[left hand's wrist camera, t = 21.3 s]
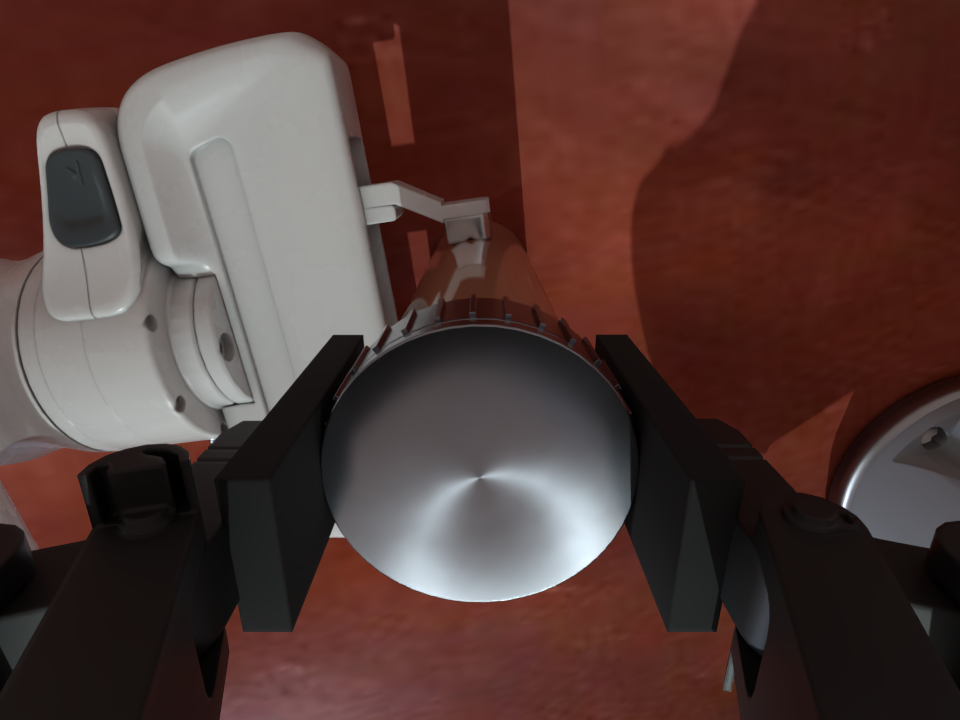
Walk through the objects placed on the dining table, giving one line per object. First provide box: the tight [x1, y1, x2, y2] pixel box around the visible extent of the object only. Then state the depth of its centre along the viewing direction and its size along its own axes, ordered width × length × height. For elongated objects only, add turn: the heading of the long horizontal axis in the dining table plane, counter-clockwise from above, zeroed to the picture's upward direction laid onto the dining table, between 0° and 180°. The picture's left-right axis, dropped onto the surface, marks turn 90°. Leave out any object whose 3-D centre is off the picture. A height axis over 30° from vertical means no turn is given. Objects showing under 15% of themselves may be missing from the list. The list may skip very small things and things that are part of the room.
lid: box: [320, 294, 640, 602], centre depth 11 cm, size 6×6×2 cm
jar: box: [401, 221, 558, 320], centre depth 20 cm, size 5×5×19 cm
